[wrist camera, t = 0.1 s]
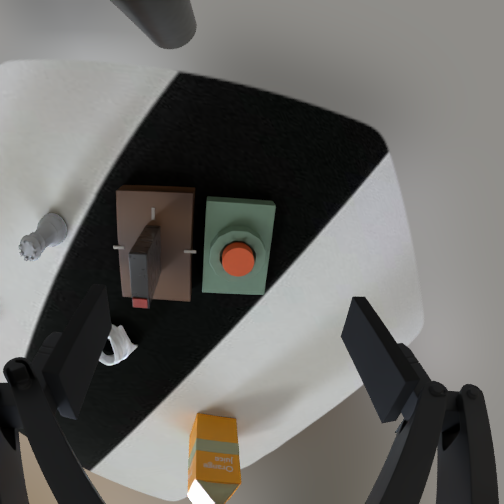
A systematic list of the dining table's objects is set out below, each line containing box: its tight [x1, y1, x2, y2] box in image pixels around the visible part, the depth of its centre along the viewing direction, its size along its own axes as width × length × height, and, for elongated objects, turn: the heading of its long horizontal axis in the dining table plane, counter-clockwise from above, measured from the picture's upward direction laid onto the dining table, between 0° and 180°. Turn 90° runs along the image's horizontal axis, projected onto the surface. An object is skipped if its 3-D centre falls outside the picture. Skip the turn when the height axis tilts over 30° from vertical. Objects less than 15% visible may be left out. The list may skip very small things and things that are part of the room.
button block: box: [202, 196, 276, 295], centre depth 40 cm, size 12×8×4 cm, turn 174°
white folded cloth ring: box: [99, 324, 138, 365], centre depth 44 cm, size 8×7×5 cm
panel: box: [113, 185, 196, 301], centre depth 39 cm, size 14×10×3 cm
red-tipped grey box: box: [128, 225, 161, 308], centre depth 34 cm, size 6×2×8 cm, turn 174°
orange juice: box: [187, 413, 241, 504], centre depth 47 cm, size 8×9×20 cm
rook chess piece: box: [19, 213, 67, 261], centre depth 34 cm, size 4×4×8 cm
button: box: [222, 242, 254, 277], centre depth 37 cm, size 4×4×2 cm
